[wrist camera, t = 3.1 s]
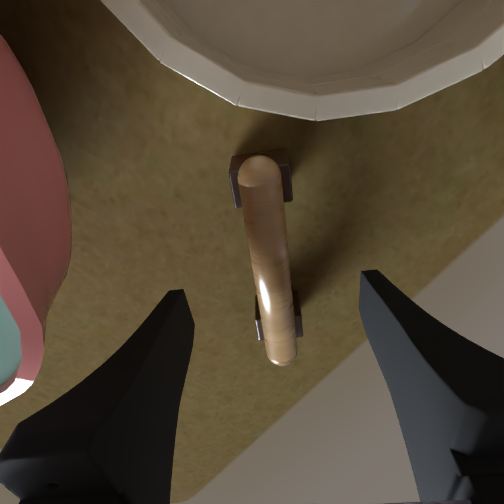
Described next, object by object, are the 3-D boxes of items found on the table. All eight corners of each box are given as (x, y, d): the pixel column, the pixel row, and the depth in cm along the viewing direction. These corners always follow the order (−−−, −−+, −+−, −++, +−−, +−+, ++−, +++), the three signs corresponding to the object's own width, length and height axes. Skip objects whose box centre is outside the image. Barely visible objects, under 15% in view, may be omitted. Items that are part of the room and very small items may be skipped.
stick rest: (231, 155, 15) (228, 171, 13) (286, 148, 14) (290, 163, 13) (258, 314, 20) (258, 341, 18) (299, 311, 20) (303, 337, 18)
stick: (235, 152, 13) (232, 167, 11) (277, 147, 12) (280, 161, 11) (267, 349, 19) (268, 373, 17) (296, 346, 18) (299, 371, 17)
